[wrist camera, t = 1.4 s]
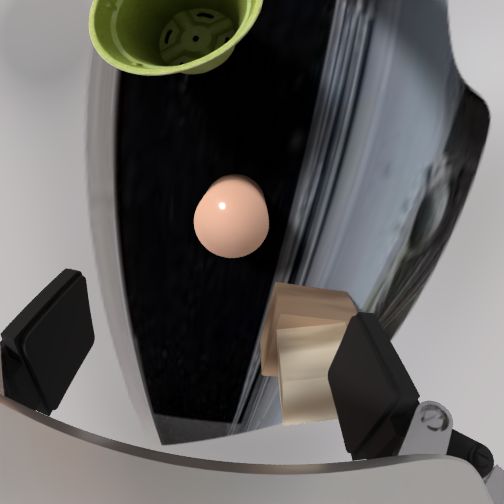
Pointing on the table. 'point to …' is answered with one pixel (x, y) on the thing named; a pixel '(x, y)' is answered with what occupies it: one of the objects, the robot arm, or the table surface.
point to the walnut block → (300, 315)
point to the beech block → (307, 372)
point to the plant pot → (181, 39)
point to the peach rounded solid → (232, 217)
